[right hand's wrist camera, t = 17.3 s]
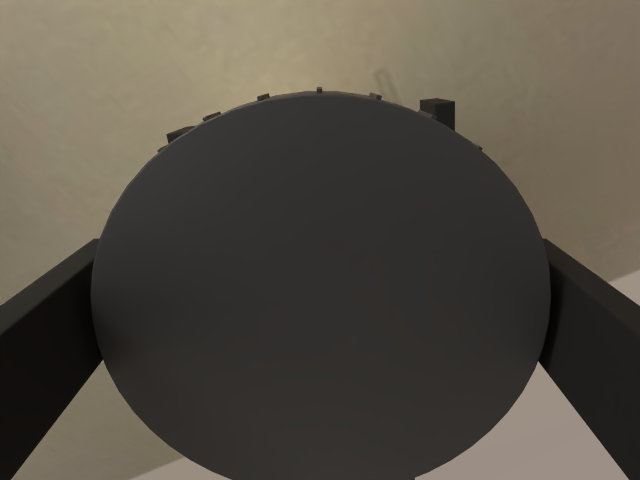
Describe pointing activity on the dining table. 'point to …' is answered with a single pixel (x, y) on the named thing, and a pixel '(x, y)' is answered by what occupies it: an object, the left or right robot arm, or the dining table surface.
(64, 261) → the right robot arm
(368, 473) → the lid
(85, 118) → the dining table surface
